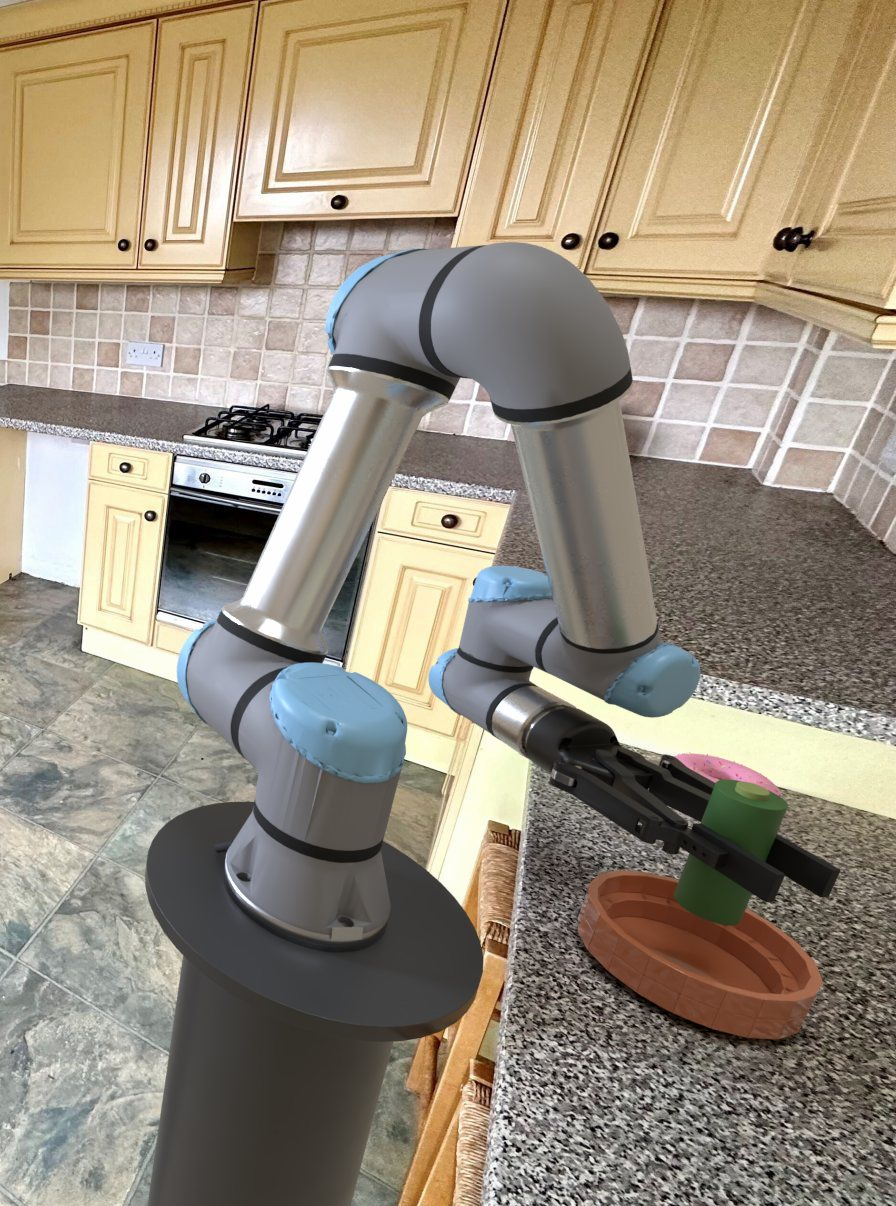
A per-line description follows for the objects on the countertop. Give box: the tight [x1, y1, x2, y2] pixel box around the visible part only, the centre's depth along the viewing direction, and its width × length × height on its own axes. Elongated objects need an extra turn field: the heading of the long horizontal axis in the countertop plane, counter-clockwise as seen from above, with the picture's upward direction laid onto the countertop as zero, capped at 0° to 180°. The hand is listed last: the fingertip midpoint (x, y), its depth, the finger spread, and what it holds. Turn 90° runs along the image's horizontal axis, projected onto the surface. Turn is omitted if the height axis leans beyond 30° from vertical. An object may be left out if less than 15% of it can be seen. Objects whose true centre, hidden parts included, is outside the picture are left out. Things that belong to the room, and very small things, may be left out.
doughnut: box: [674, 751, 784, 798], centre depth 98 cm, size 11×11×4 cm
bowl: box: [577, 869, 823, 1040], centre depth 71 cm, size 15×15×5 cm
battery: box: [674, 779, 789, 925], centre depth 68 cm, size 4×4×13 cm
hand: (802, 885), depth 63 cm, fingers closed on battery, 4 cm apart
